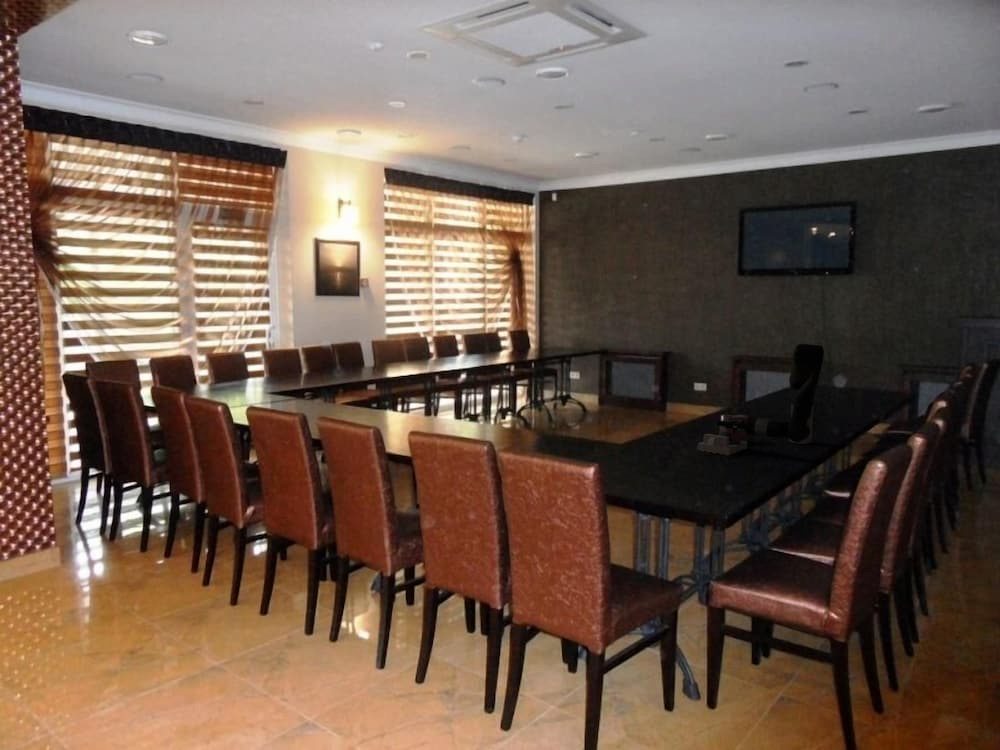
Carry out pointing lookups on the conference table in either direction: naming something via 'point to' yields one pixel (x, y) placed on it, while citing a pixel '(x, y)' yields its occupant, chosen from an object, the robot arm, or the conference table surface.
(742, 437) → the box
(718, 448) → the scale
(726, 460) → the conference table surface
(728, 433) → the spacer
